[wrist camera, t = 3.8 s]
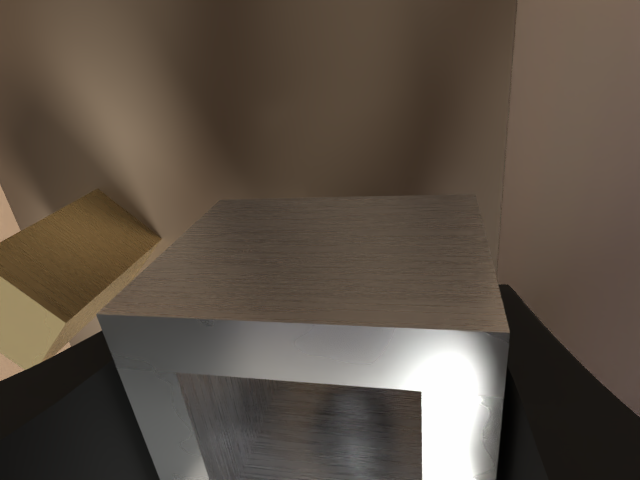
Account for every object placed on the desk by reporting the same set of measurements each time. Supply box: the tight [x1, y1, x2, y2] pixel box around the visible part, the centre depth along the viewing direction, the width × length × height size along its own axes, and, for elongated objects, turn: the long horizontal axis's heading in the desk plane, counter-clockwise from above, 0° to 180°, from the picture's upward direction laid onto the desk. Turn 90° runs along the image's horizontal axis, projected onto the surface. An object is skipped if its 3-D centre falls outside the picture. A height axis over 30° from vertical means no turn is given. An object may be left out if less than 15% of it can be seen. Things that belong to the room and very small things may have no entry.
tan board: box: [0, 0, 517, 347], centre depth 14 cm, size 15×18×1 cm
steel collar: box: [96, 194, 510, 480], centre depth 8 cm, size 5×5×4 cm
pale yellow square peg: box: [0, 189, 162, 370], centre depth 13 cm, size 2×2×4 cm
